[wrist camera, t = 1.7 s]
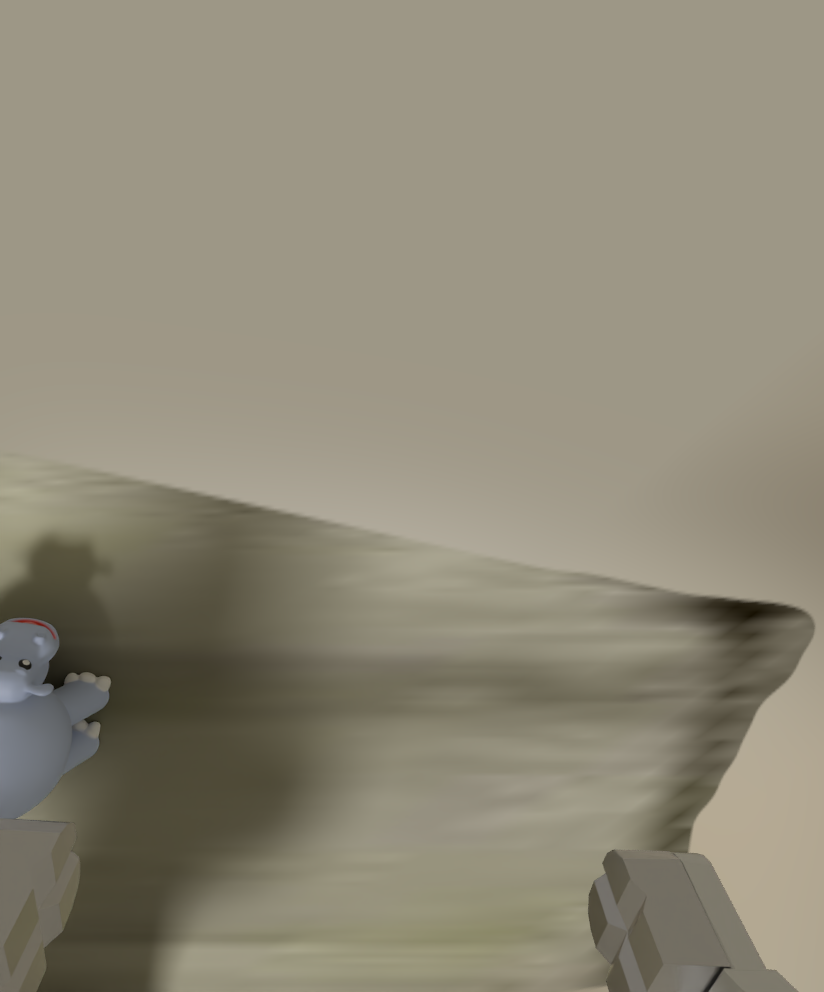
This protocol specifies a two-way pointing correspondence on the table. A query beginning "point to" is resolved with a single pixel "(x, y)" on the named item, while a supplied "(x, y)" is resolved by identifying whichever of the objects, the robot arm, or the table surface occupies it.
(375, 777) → the table surface
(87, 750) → the hippopotamus toy
